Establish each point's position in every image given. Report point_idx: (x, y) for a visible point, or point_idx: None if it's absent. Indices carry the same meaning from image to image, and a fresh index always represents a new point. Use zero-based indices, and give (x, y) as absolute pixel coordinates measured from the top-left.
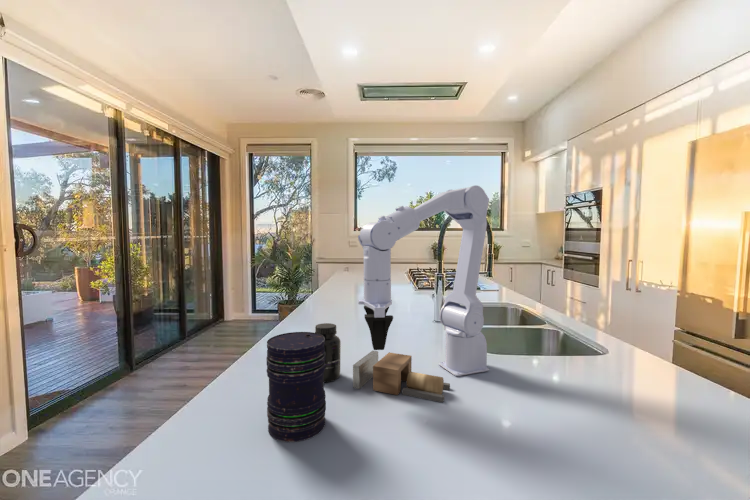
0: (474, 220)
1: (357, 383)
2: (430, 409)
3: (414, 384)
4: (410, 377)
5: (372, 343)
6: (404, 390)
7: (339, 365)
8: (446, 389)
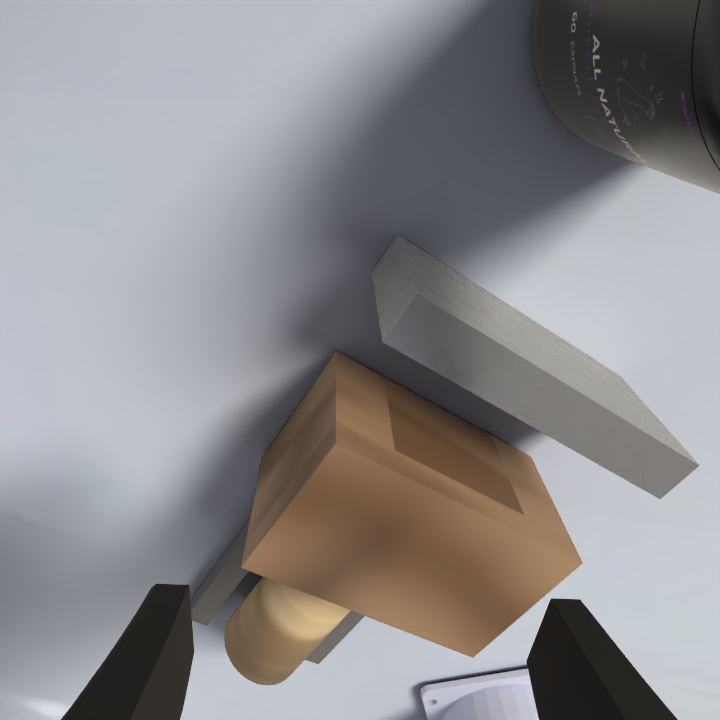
0: None
1: (382, 274)
2: (130, 550)
3: None
4: None
5: (117, 642)
6: None
7: (628, 159)
8: None
